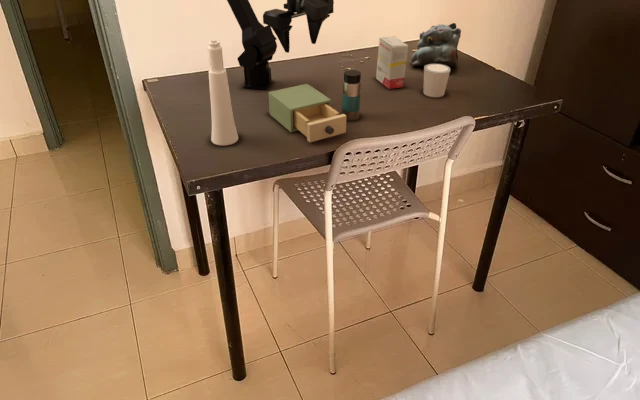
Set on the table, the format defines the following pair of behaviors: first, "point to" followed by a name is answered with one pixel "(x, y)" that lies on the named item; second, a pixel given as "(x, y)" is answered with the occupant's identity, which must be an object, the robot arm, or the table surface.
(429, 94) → the white cylinder
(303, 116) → the drawer
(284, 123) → the drawer unit
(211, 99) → the cosmetic bottle
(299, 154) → the table surface
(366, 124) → the table surface
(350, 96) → the thermos flask
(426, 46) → the lucky cat figurine
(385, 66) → the ink box
